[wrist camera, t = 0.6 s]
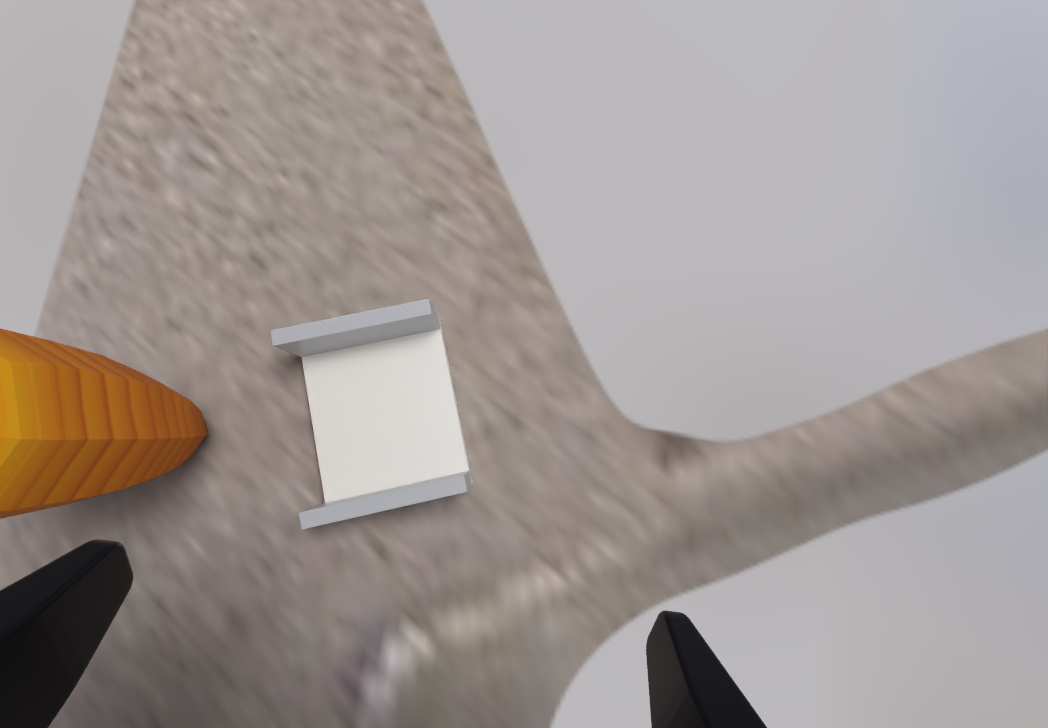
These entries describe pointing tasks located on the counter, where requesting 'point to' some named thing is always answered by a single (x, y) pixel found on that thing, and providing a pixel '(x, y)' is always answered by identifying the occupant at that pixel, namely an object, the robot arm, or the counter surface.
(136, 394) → the carrot
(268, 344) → the counter surface
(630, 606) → the counter surface
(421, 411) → the white railed tray
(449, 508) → the counter surface
